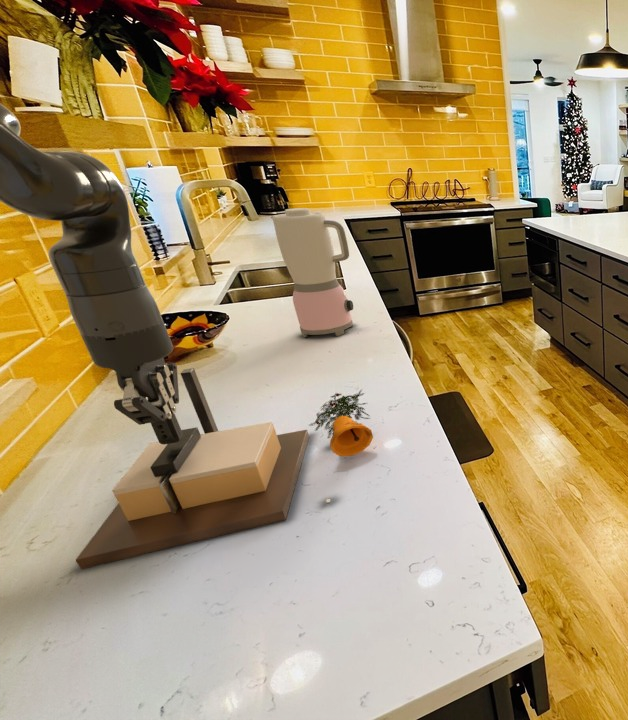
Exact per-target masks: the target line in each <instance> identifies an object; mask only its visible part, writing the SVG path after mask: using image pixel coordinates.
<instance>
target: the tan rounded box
mask: <svg viewBox="0 0 628 720" xmlns="http://www.w3.org/2000/svg"><path fill="white" fill-rule="evenodd" d="M200 435H201V437H200V439H199V440H198V442H197V443H196V445H195V446H194V448H193V449H192V451H191V452H190V454H189V456H188V457H187V459H186V460H185V462H184V463H183V465H182V466H181V468H180V469H179V471H178V473H174V474H172V475H171V477H170V478H169V481H170V483H171V485H172V487H173V489H174V491H175V494H176V496H177V498H178V500H179V502H180V505H181V507H182V509H185V508H190V507H194V506H199V505H203V504H208V503H212V502H217V501H221V500H226V499H231V498H235V497H240V496H244V495H249V494H253V493H258V492H262V491H266V488H267V485H268V483H269V480H270V477H271V474H272V472H273V469H274V466H275V463H276V461H277V458H278V455H279V452H280V449H281V446H280V443H279V440H278V437H277V435H278V434H277V432H276V428H275V426H274V423H273V421H269V422H263V423H258V424H252V425H246V426H241V427H235V428H234V427H233V428H230V429H224V430H218V431H217V432H212V433H206V434H205V433H200Z"/></svg>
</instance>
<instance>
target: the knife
mask: <svg viewBox="0 0 628 720" xmlns="http://www.w3.org/2000/svg"><path fill="white" fill-rule="evenodd" d="M181 430H182V433H183V436H182V437H181V439H180V440H179V441H178V442H176V443H170V444H167V446H166V447H165V448H164V450H163V451H162V452H161V454H160V455H159V456H158V458H157V459H156V460H155V462H154V463H153V464H152V466H151V467H150V468H151V470H152V472H153V474H154V477H158V476H163V475H165V476H164V477H163V478H162V480H161V481H160V483H159V486H160V488H161V490H162V492H163V495H164V497H165V499H166V501H167V503H168V505H169V507H170V509H171V512H172V514H176V513H177V512H178V510H179V508H180V507H181V505H180V502H179V500H178V498H177V496H176V494H175V491H174V489H173V487H172V485H171V483H170V481H169V478H170V477H171V475H172V474H174V473H178V471H179V469H180V468H181V466H182V465H183V463H184V462H185V460H186V459H187V457H188V456H189V454H190V452H191V451H192V449H193V448H194V446H195V445H196V443H197V442H198V440H199V439H200V437H201V435H200V434H201V432H200V429H199V427H197V426H196V427H191V428H184V429H181Z"/></svg>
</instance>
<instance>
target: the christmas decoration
mask: <svg viewBox="0 0 628 720" xmlns="http://www.w3.org/2000/svg"><path fill="white" fill-rule="evenodd" d="M362 391H363V387H362V389H360V390H359V392H358V393H354V394H353V395H352V394H351V395H350V394H349V395H342V394H341V393H338V392H336V393H334V394H333V395H331V396H330V398H333V399H330V400H328V401H326V402H325V403H324V404H322V406H320V411H322V412H317V413H316V419H315V421H314V422H311V423H308V426H309V427H313V426H315V425H316V427H315V429H314V431H315V432H317V431H318V430H319V429H320V428H321V429H322V427H323V428H324V430H325V431H327V434H328V436H327V439H330V440H329V445H330V448H331V451H332V453H333V454H335V455H337V456H338V457H352V456H354V455H357V454H361V453H363V452H364V450H366V449H367V448H368V447H369V446H370V445H371V443H372V441H373V439H374V435H373V432H372V429H370V428H369V427H367V426H366V425H364V424H363V423H362V422H361V423H360V422H358V421H360V420H361V419H363V420H364V419H365V420H368V419H369V420H371V418H370V417H364V415H366V416H369V413H367V412H366V408H364V407H362V406H361V405H366V404H367V402H363V403H359V401H360V398H359V397H361V396H363V395H364V394H365V392H362ZM336 397H339V398H337V399H336ZM363 414H364V415H363ZM351 415H352V416H353V417H354V419H355V420H354V419H353V417H352V416H351ZM325 502H326V503H330V502H331V499H330V498H327V499H326V500H325Z"/></svg>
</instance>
